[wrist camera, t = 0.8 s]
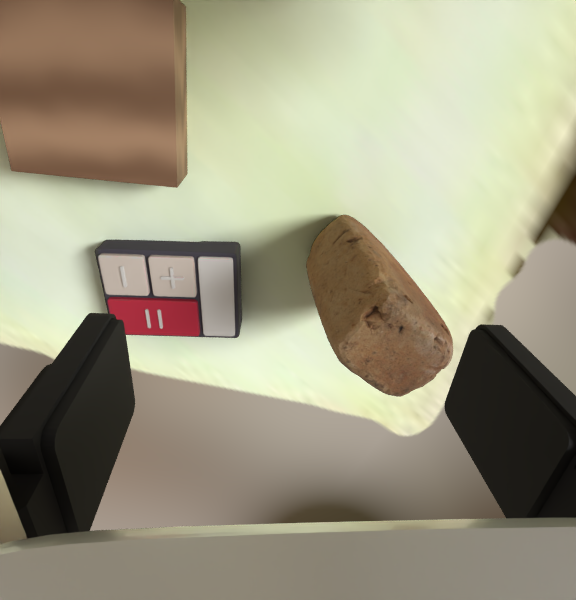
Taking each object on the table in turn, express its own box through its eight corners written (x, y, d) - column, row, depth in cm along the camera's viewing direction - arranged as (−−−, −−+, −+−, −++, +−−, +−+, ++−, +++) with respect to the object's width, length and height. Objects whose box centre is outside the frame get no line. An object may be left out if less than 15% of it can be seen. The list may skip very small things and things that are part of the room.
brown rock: (295, 249, 45) (318, 357, 28) (342, 201, 43) (399, 286, 25) (358, 302, 49) (411, 424, 32) (404, 261, 47) (489, 369, 29)
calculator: (90, 251, 40) (236, 256, 41) (106, 236, 44) (240, 241, 44) (109, 338, 46) (238, 342, 46) (122, 318, 49) (241, 322, 50)
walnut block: (12, -19, 32) (-35, -38, 27) (186, 7, 34) (172, -6, 28) (44, 158, 39) (11, 171, 34) (187, 173, 40) (177, 187, 35)
